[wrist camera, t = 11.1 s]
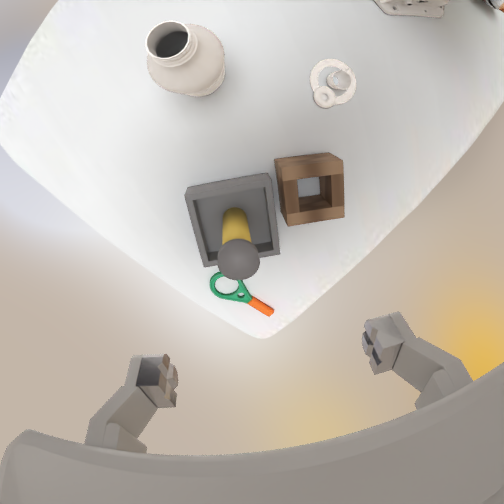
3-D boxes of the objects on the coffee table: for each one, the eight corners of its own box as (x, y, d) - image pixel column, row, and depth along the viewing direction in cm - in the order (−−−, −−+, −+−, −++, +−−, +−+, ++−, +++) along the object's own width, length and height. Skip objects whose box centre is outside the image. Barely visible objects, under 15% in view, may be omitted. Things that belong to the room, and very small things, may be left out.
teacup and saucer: (319, 114, 39) (328, 116, 36) (295, 72, 35) (302, 69, 32) (362, 93, 37) (374, 94, 34) (340, 52, 34) (351, 49, 30)
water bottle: (196, 45, 32) (160, -19, 10) (234, 69, 34) (246, 25, 13) (167, 82, 34) (96, 62, 13) (205, 105, 37) (178, 108, 16)
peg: (247, 201, 44) (256, 241, 33) (252, 229, 47) (262, 276, 36) (216, 207, 44) (213, 248, 33) (222, 235, 47) (222, 283, 36)
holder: (328, 152, 42) (342, 160, 37) (331, 203, 47) (344, 217, 42) (274, 159, 42) (281, 167, 37) (280, 211, 47) (287, 226, 42)
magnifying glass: (203, 284, 54) (203, 289, 52) (222, 264, 52) (222, 269, 50) (260, 318, 60) (261, 323, 58) (280, 301, 58) (281, 306, 56)
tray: (267, 172, 43) (271, 179, 40) (276, 242, 50) (280, 254, 47) (187, 187, 43) (184, 195, 40) (205, 255, 50) (204, 267, 47)
